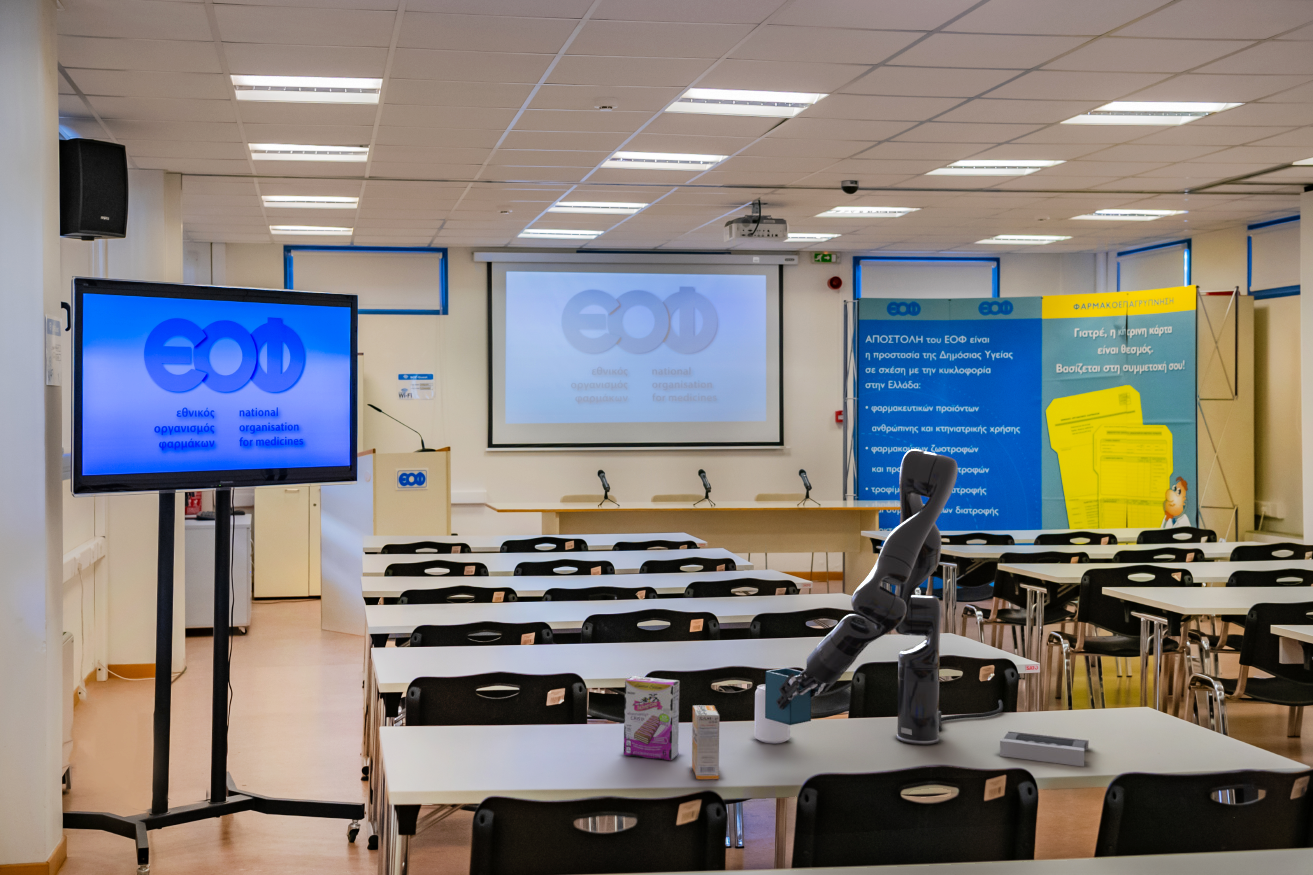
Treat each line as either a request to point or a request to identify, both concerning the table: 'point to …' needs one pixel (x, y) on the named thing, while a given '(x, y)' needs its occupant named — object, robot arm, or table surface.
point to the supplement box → (705, 742)
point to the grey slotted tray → (1044, 748)
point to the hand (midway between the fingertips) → (790, 703)
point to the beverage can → (768, 722)
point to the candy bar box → (651, 717)
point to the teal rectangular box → (795, 709)
